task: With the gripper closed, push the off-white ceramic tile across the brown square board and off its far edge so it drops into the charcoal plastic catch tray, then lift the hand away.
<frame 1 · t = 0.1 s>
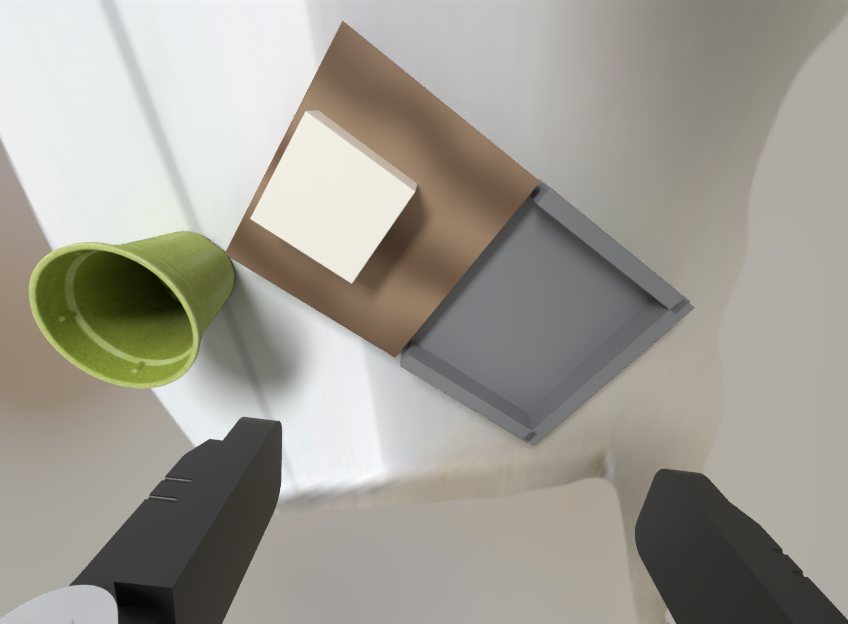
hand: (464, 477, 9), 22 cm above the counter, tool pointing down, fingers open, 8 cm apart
catch tray: (529, 316, 32), on the counter
plant pot: (196, 267, 31), on the counter
tile: (340, 196, 26), point 2 cm above the counter, touching brown square board
brown square board: (378, 210, 28), on the counter
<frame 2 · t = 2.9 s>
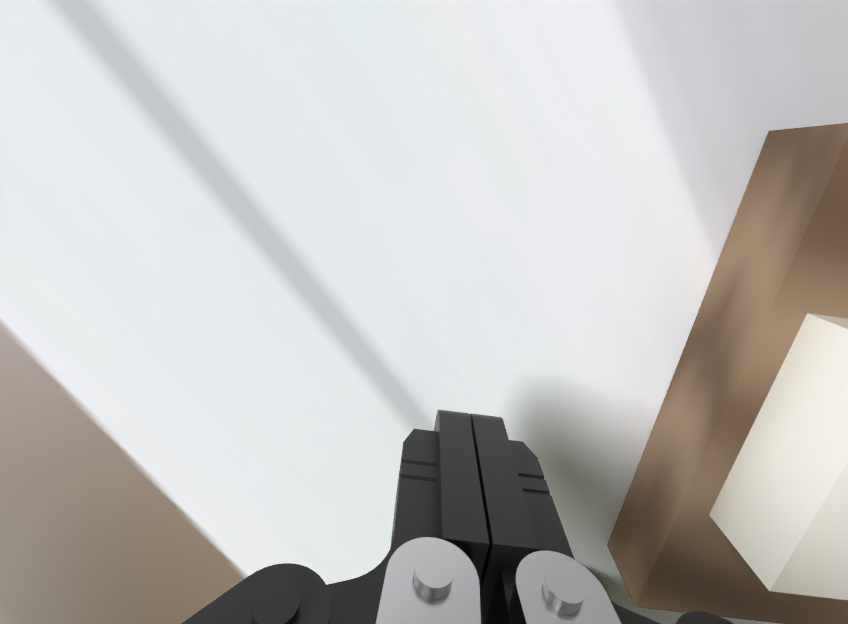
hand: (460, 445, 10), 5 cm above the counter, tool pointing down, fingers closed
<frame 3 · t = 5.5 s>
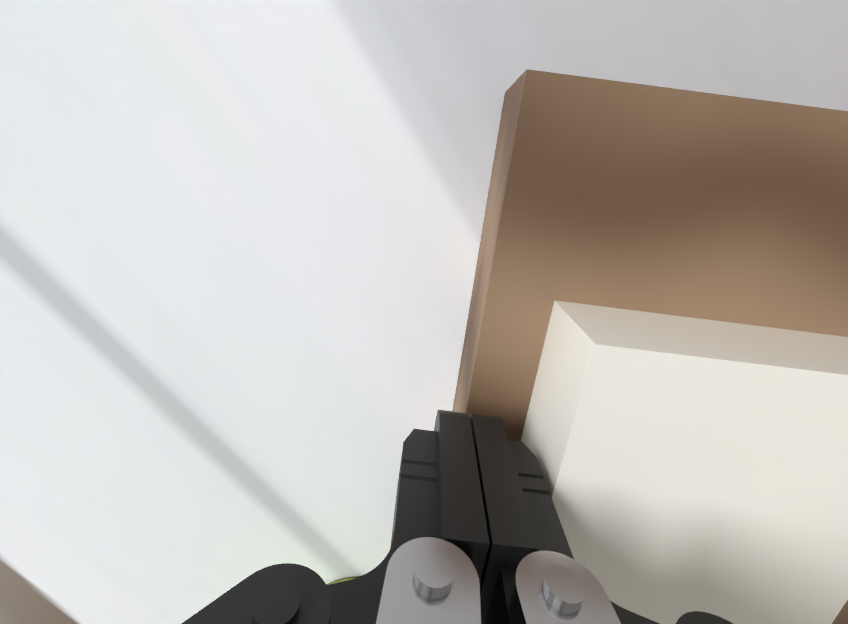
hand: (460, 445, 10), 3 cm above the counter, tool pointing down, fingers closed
tile: (655, 443, 11), point 2 cm above the counter, touching brown square board, gripper
brown square board: (675, 399, 13), on the counter
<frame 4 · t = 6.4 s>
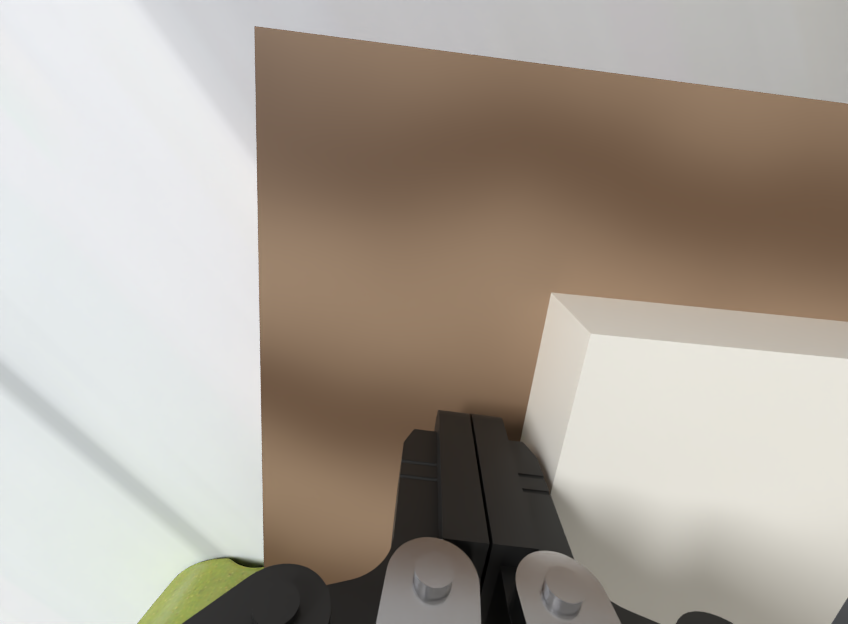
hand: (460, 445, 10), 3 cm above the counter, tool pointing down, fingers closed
plant pot: (243, 603, 17), on the counter
tile: (657, 434, 11), point 3 cm above the counter, touching brown square board, gripper
brown square board: (513, 375, 13), on the counter
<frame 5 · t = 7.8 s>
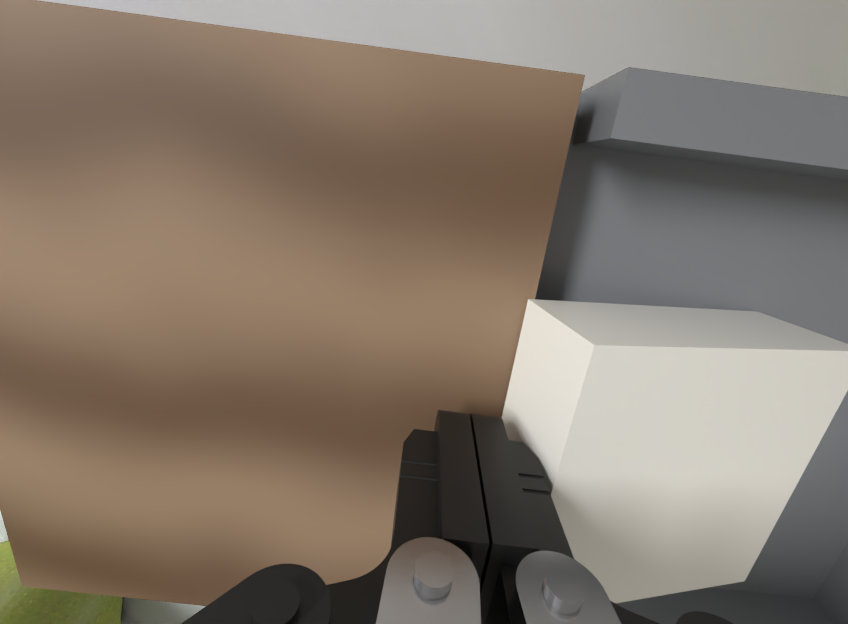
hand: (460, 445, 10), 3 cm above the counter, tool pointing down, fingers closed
catch tray: (709, 402, 13), on the counter
plant pot: (56, 586, 17), on the counter
tile: (613, 423, 11), point 2 cm above the counter, tilted 14°, touching gripper
brown square board: (272, 350, 13), on the counter
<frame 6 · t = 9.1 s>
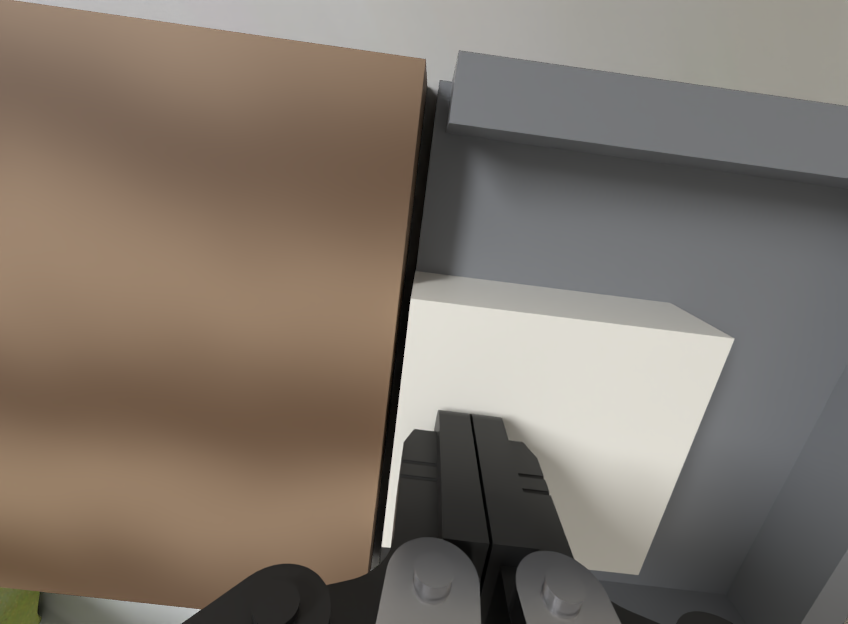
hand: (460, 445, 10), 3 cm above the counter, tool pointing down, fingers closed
catch tray: (612, 396, 13), on the counter
tile: (518, 399, 12), point 1 cm above the counter, touching catch tray, gripper
brown square board: (170, 341, 13), on the counter
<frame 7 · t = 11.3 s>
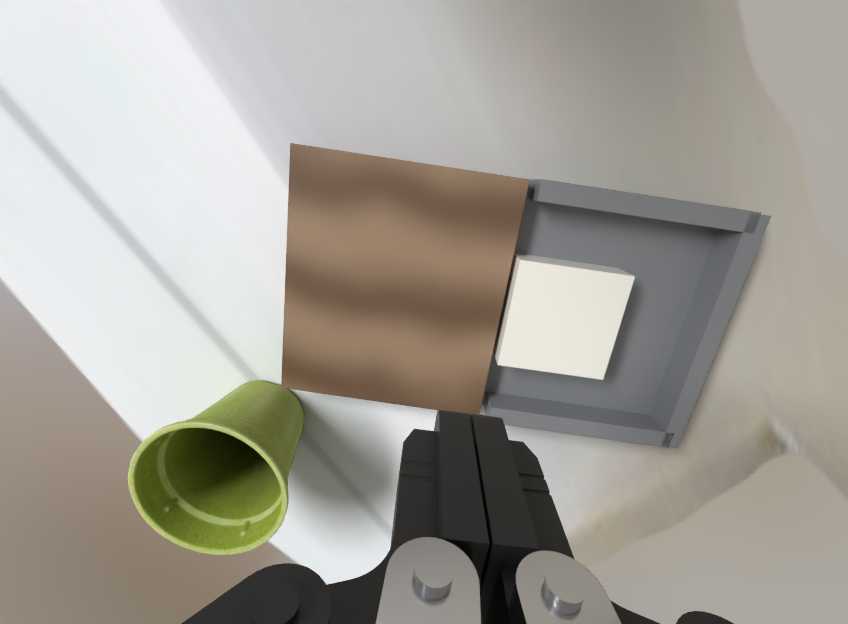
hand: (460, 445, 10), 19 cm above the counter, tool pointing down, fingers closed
catch tray: (594, 312, 29), on the counter
plant pot: (267, 411, 32), on the counter
tile: (552, 310, 28), point 1 cm above the counter, touching catch tray
brown square board: (397, 283, 28), on the counter
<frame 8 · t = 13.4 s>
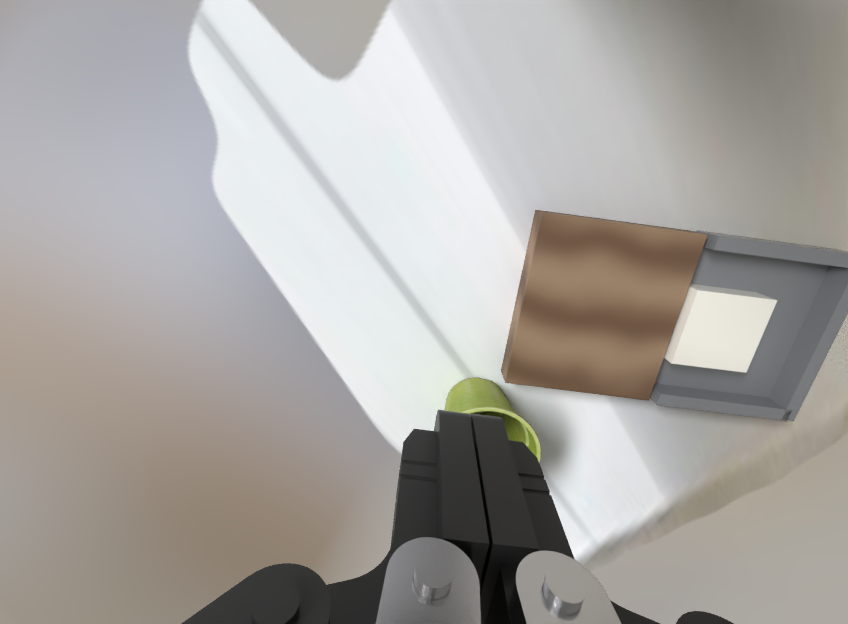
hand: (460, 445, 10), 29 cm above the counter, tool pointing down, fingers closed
catch tray: (732, 323, 39), on the counter
plant pot: (474, 400, 43), on the counter
tile: (705, 322, 38), point 1 cm above the counter, touching catch tray
brown square board: (589, 305, 39), on the counter
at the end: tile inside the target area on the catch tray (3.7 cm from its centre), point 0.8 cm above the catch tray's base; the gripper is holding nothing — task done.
